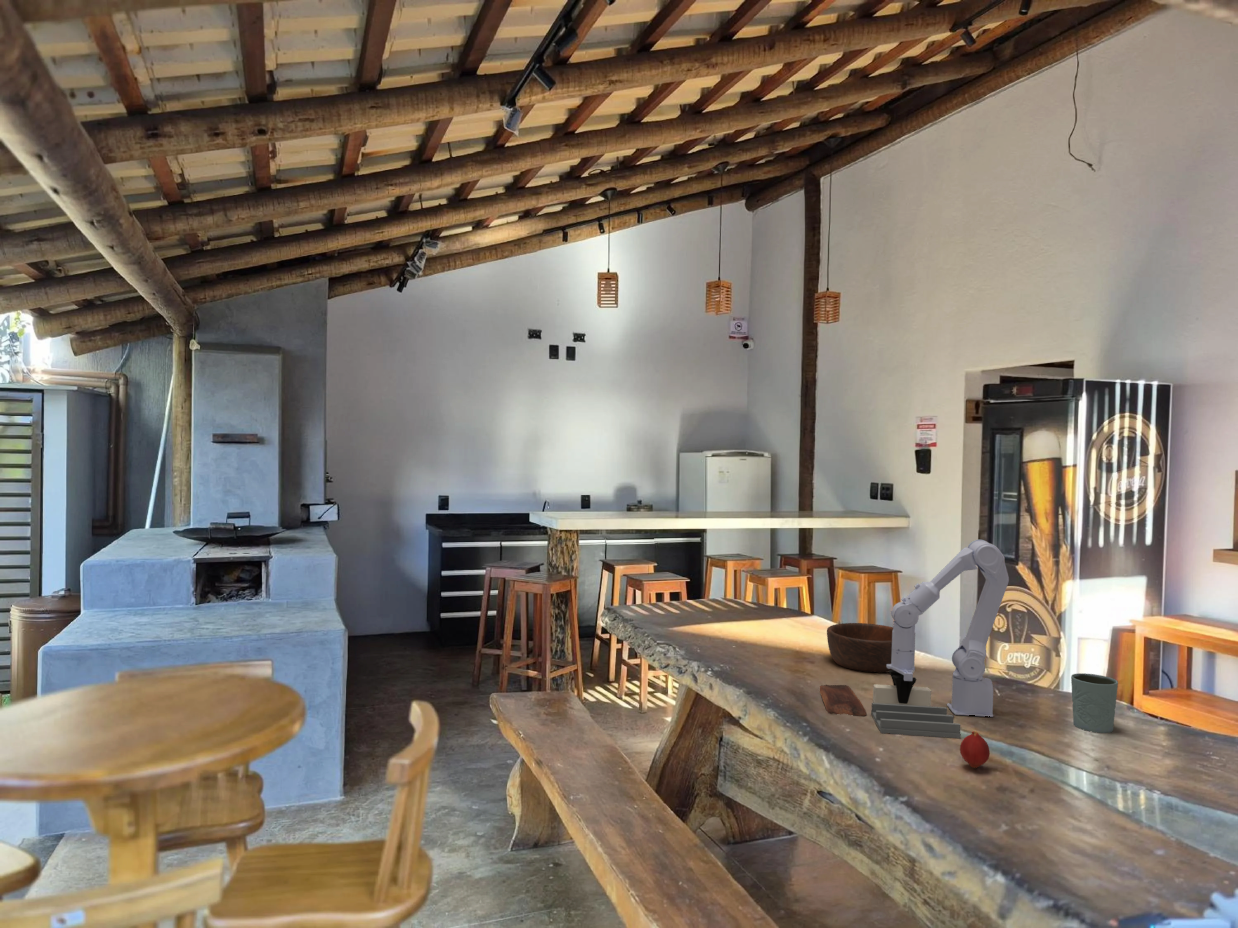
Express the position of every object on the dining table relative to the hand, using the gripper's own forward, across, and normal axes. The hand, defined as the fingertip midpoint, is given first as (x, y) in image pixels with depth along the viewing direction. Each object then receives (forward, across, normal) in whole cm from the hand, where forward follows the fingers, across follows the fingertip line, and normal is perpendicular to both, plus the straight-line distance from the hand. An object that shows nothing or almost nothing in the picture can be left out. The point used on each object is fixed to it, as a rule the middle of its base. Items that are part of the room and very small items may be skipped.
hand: (901, 700), depth 218 cm
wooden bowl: (+2, -41, -2) cm, 41 cm away
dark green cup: (+2, +7, +44) cm, 45 cm away
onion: (+2, +40, +7) cm, 41 cm away
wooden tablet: (+2, -3, -15) cm, 15 cm away
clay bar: (+2, 0, 0) cm, 2 cm away
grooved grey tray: (+1, +15, 0) cm, 15 cm away
